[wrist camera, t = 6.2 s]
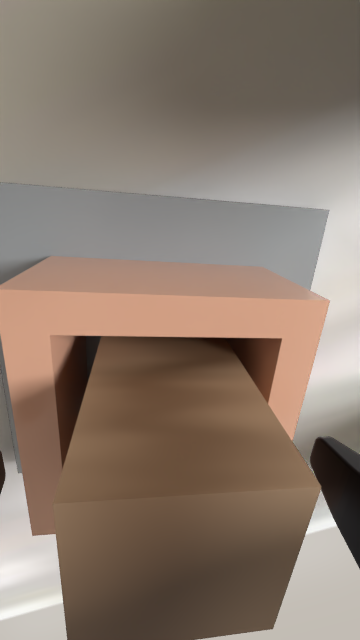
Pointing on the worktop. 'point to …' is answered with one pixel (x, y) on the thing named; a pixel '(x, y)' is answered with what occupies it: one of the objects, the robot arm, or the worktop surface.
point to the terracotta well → (144, 302)
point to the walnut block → (177, 496)
